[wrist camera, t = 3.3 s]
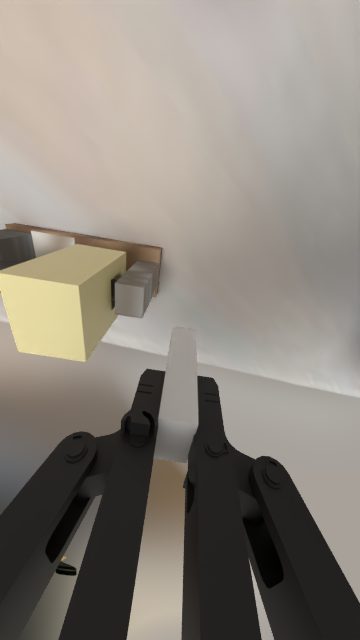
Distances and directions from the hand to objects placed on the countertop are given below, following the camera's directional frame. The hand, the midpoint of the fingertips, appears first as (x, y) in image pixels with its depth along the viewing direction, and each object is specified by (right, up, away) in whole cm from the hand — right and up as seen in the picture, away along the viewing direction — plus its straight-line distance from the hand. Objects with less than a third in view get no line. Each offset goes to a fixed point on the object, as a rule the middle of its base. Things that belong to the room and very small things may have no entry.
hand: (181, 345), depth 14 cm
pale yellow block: (-8, +6, +9) cm, 14 cm away
